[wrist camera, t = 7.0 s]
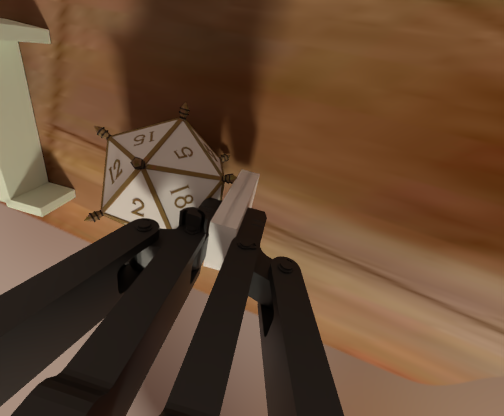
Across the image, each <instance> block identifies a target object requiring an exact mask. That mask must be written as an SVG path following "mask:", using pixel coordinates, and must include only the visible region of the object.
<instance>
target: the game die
mask: <svg viewBox="0 0 504 416" xmlns="http://www.w3.org/2000/svg"><path fill="white" fill-rule="evenodd" d="M188 111H190V110H189V109H188V106H187V103H186V102H185V103H184V104H183V106H182V107H180V111H179V113H180V117H179V118H175V119H171V120H168V121H164V122H160V123H156V124H153V125H149V126H145V127H142V128H138V129H134V130H130V131H127V132H123V133H119V134H115V135H110V134H109V133H108V130H107V131H106V130H105V129H104V127H103V128H102V127H97V126H94V127H95V129H96V132H97V135H100V136H101V138H105V139H107V148H106V159H105V169H104V180H103V191H102V201H101V210H100V211H96V212H95V211H94V212H93V213H89V215H88V217H87V218H86V219H85V220H84V221H94V222H95V221H96V220H100V219H99V218H101V217H102V216H106V217H108V218H110V219H113V220H115V221H117V222H119V223H122V224H124V225H126V224H128V223H130V222H132V221H134V220H136V219H141V218H149V219H153V220H155V221H156V222H158V224H159V226H160V228H162V229H176V228H177V227H178V226H179V215H180V211H181V210H182V209H184V208H187V207H196V208H198V207H199V206H200V205H201V203H202V202H203V201H204V200H205V199H207V198H210V197H211V198H215V199H218V200H222V195H223V189H224V183H225V182H227V183H228V184H229V183H231V184H233V182H234V181H235V180H236V179H237V177H236V176H234V175H233V174H227V175H225V176H224V172H223V167H222V162H225V161H227V160H229V157H230V155H226V154H224V155H221V157H219V156H218V155H217V154H216V153H215V152H214V151H213V150H212V148H211V147H210V146H209V145H208V144H207V143H206V142H205V141H204V139H203V138H202V137H201V136H200V135H199V134H198V133H197V132H196V130H195V129H194V128H193V127H192V126H191V125H190V124H189V123H188V121H187V120H186V116H187V115H189V114H188Z"/></svg>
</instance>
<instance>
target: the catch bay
mask: <svg viewBox="0 0 504 416" xmlns="http://www.w3.org/2000/svg"><path fill="white" fill-rule="evenodd" d="M18 42H32V43H46V44H51V41H50V35H49V30H48V29H44V28H40V27H36V26H32V25H28V24H24V23H21V22H17V21H13V20H9V19H4V18H0V201H2V202H6V204H7V207H10V208H13V209H17V210H20V211H24V212H27V213H31V214H34V215H37V216H41V217H43V216H45V215H46V214H48V213H50V212H51V211H53V210H55V209H57V208H58V207H60V206H62V205H63V204H65V203H67V202H68V201H70V200H72V199H73V198H75V197H76V195H75V189H71V188H68V187H64V186H61V185H57V184H54V183H50V182H48V177H47V173H46V168H45V164H44V159H43V154H42V150H41V145H40V141H39V136H38V131H37V127H36V122H35V118H34V113H33V108H32V104H31V99H30V95H29V90H28V85H27V81H26V76H25V72H24V67H23V62H22V58H21V53H20V49H19V44H18Z"/></svg>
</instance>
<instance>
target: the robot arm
mask: <svg viewBox="0 0 504 416" xmlns="http://www.w3.org/2000/svg"><path fill="white" fill-rule="evenodd" d="M259 175H260V174H257V173H253V172H250V171H246V170H241V171H240V173H239V175H238V176H237V179H236V180H235V181H234V183H233V185H232V186H231V188H230V190H229V191H228V193H227V195H226V196H225V198H224V200H223V201H222V200H218V199H215V198H211V197H210V198H207V199H205V200H204V201H203V202H202V203H201V205H200V206H199V207H198V208H196V207H187V208H184V209H182V210H181V211H180V215H179V226H178V227H177V228H176V229H162V228H160V226H159V224H158V222H156V221H155V220H153V219H149V218H141V219H136V220H134V221H132V222H130V223H128V224H126V225H124V226H123V227H121V228H119V229H117V230H115V231H114V232H112V233H110V234H108V235H107V236H105V237H103V238H101V239H99V240H98V241H96V242H94V243H92V244H91V245H89V246H87V247H85V248H83V249H82V250H80V251H78V252H77V253H75V254H73V255H71V256H69V257H67V258H66V259H64V260H62V261H60V262H59V263H57V264H55V265H53V266H51V267H50V268H48V269H46V270H44V271H43V272H41V273H39V274H37V275H36V276H34V277H32V278H30V279H28V280H27V281H25V282H23V283H21V284H20V285H18V286H16V287H14V288H12V289H11V290H9V291H7V292H5V293H3V294H2V295H0V406H2V405H3V403H5V402H6V401H7V400H8V399H10V398H11V397H12V396H13V395H14V394H16V393H17V392H18V391H19V390H20V389H21V388H23V387H24V386H25V385H26V384H27V383H29V382H30V381H31V380H32V379H33V378H34V377H36V376H37V375H38V374H39V373H40V372H41V371H43V370H44V369H45V368H46V367H47V366H48V365H49V364H51V363H52V362H53V361H54V360H55V359H57V358H58V357H59V356H60V355H61V354H63V353H64V352H65V351H66V350H67V349H68V348H70V347H71V346H72V345H73V344H74V343H75V342H77V341H78V340H79V339H80V338H81V337H82V336H84V335H85V334H86V333H87V332H88V331H89V330H91V329H92V328H93V327H94V326H95V325H97V323H99V322H100V321H101V320H102V319H104V320H103V321H102V322H101V324H100V325H99V326H98V327H97V328H96V330H95V331H94V332H93V333H92V335H91V336H90V337H89V339H88V340H87V341H86V342H85V343H84V345H83V346H82V347H81V348H80V350H79V351H78V352H77V354H76V355H75V356H74V357H73V359H72V360H71V361H70V362H69V363H68V365H67V366H66V367H65V368H64V369H63V371H62V372H61V373H59V374H58V375H57V376H54V377H50V378H47V379H45V380H44V381H42V382H41V383H39V384H38V385H37V386H36V387H35V388H34V389H33V390H32V391H31V393H30V394H29V395H28V396H27V397H26V398H25V399H24V401H23V402H22V403H21V405H19V407H18V408H17V409H16V410H15V411H14V412H13V414H12V415H11V416H126V414H127V412H128V410H129V408H130V407H131V405H132V403H133V401H134V399H135V397H136V395H137V393H138V391H139V389H140V387H141V385H142V383H143V381H144V380H145V378H146V375H147V374H148V372H149V370H150V368H151V366H152V364H153V362H154V360H155V358H156V357H157V355H158V353H159V351H160V349H161V347H162V345H163V343H164V341H165V339H166V337H167V335H168V333H169V331H170V330H171V328H172V326H173V324H174V322H175V320H176V318H177V316H178V314H179V312H180V310H181V308H182V306H183V305H184V303H185V301H186V299H187V297H188V295H189V293H190V291H191V289H192V287H193V285H194V283H195V281H196V280H197V278H198V276H199V274H200V270H201V265H202V263H203V261H204V265H203V266H206V267H209V268H213V269H216V270H220V271H219V273H218V276H217V278H216V281H215V283H214V286H213V288H212V291H211V293H210V296H209V298H208V301H207V303H206V306H205V308H204V311H203V313H202V316H201V318H200V321H199V323H198V326H197V328H196V331H195V333H194V336H193V339H192V341H191V343H190V346H189V348H188V351H187V353H186V356H185V358H184V361H183V363H182V366H181V368H180V371H179V373H178V376H177V378H176V381H175V383H174V386H173V388H172V391H171V393H170V396H169V398H168V401H167V403H166V405H165V408H164V410H163V411H162V413H161V414H160V415H159V416H219V415H220V411H221V407H222V403H223V399H224V394H225V390H226V386H227V382H228V378H229V373H230V369H231V365H232V361H233V356H234V352H235V348H236V344H237V340H238V336H239V331H240V327H241V323H242V319H243V314H244V310H245V306H246V302H247V298H248V296H249V297H251V298H253V299H254V300H256V301H257V302H258V314H259V325H260V336H261V346H262V356H263V367H264V377H265V388H266V399H267V408H268V416H344V414H343V410H342V407H341V404H340V400H339V397H338V394H337V390H336V387H335V384H334V380H333V377H332V374H331V371H330V367H329V364H328V360H327V357H326V353H325V350H324V347H323V343H322V340H321V337H320V333H319V330H318V327H317V323H316V320H315V317H314V313H313V310H312V307H311V303H310V300H309V297H308V293H307V290H306V287H305V283H304V280H303V276H302V273H301V270H300V267H299V266H298V264H297V263H296V262H295V261H294V260H292V259H290V258H287V257H276V258H274V259H271V258H270V257H268V256H267V255H265V254H264V253H263V252H262V250H261V248H260V242H261V238H262V234H263V230H264V226H265V222H266V219H267V217H266V214H265V212H263V211H260V210H256V209H253V208H252V204H253V200H254V196H255V192H256V188H257V183H258V179H259Z"/></svg>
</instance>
